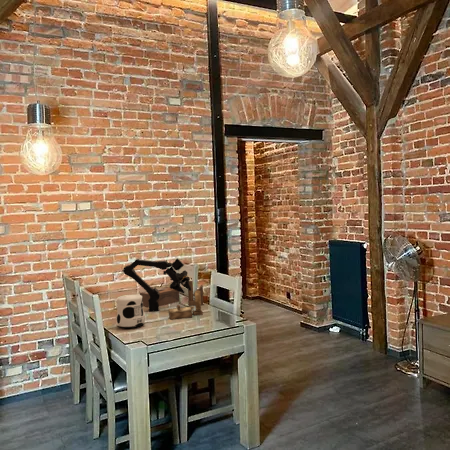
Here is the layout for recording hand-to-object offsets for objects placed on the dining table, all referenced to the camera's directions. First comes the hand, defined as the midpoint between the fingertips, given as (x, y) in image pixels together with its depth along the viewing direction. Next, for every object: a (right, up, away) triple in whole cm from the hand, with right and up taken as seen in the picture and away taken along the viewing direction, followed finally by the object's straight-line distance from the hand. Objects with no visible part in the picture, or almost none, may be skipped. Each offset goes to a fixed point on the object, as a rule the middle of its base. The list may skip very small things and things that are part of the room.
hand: (187, 291), depth 306 cm
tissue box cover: (-23, -14, +28) cm, 38 cm away
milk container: (-32, -17, -32) cm, 48 cm away
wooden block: (+5, -13, +17) cm, 22 cm away
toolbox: (0, -14, -14) cm, 20 cm away
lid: (-2, -10, -16) cm, 19 cm away
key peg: (+8, -13, -3) cm, 15 cm away
